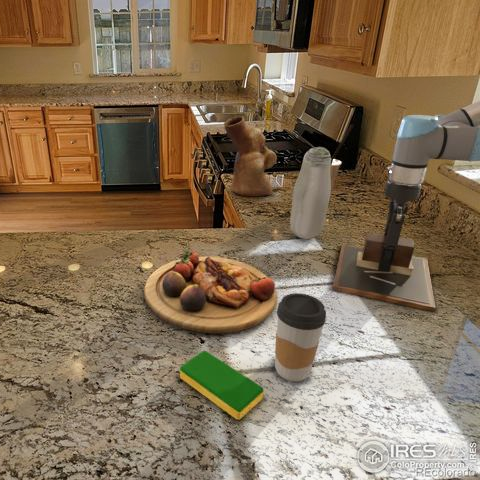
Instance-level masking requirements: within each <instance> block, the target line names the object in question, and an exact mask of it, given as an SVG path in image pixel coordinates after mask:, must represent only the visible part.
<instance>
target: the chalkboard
mask: <svg viewBox="0 0 480 480" xmlns="http://www.w3.org/2000/svg"><path fill="white" fill-rule="evenodd" d="M363 247H364V246H357V245H352V244H345V243H341V248H340V252H339V257H338V262H337V265H336V271H335V275H334V279H333V285H332V291H336V292H339V293H341V292H342V293H346V294H350V295H356V296H359V297H364V298H369V299H373V300H378V301H383V302H387V303H392V304H397V305H402V306H405V307H406V306H407V307H411V308H414V309H420V310H425V311H430V312H435V311H436V303H435V297H434V292H433V286H432V280H431V275H430V269H429V263H428V258H427V257H420V256H415V255H412V258H411V261H412V266H413V271H412V274H411V276H410V275H404V274H398V273H393V272H387V271H382V270H376V269H371V268H365V267H359V266H356V264H357V255H358V252H362V251H363Z"/></svg>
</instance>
